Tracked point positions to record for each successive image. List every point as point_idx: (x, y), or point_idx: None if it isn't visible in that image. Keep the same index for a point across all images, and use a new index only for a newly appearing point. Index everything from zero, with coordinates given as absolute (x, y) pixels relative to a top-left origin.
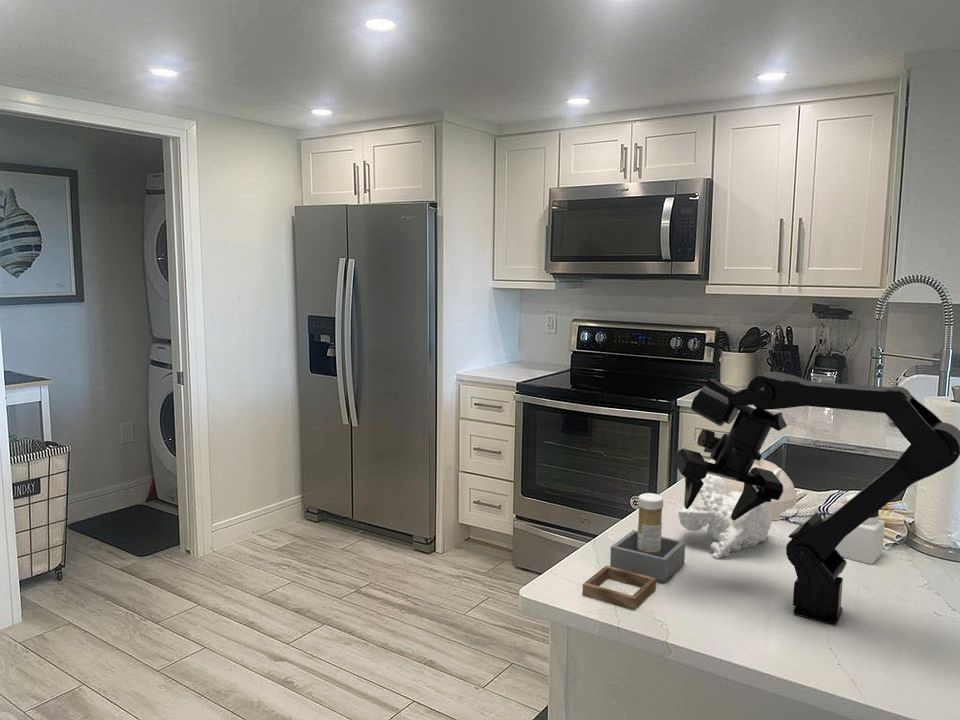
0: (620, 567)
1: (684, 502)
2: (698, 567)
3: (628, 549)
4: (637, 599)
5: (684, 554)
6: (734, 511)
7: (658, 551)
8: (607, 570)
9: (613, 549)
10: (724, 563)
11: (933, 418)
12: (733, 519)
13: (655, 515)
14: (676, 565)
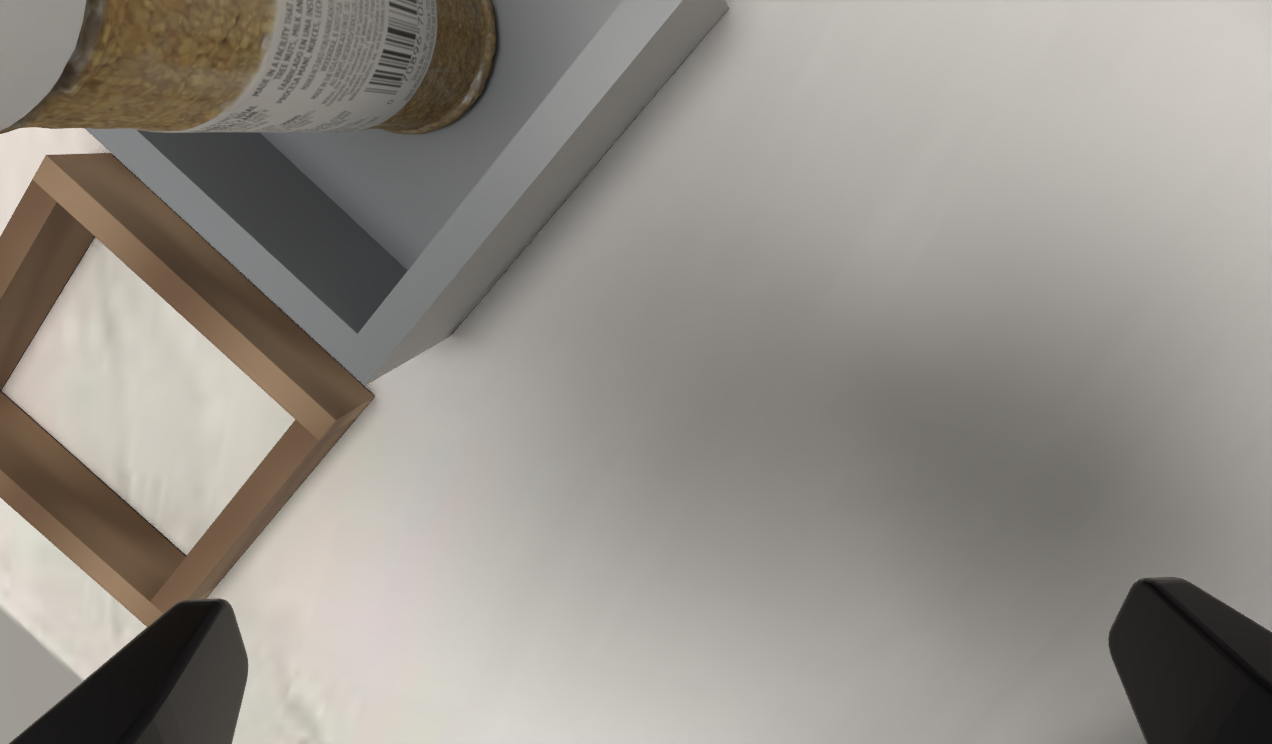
0: None
1: (130, 657)
2: (822, 84)
3: None
4: None
5: (714, 1)
6: (1222, 721)
7: (401, 106)
8: (62, 210)
9: None
10: (1112, 21)
11: None
12: (1117, 667)
13: (53, 126)
14: (584, 162)
